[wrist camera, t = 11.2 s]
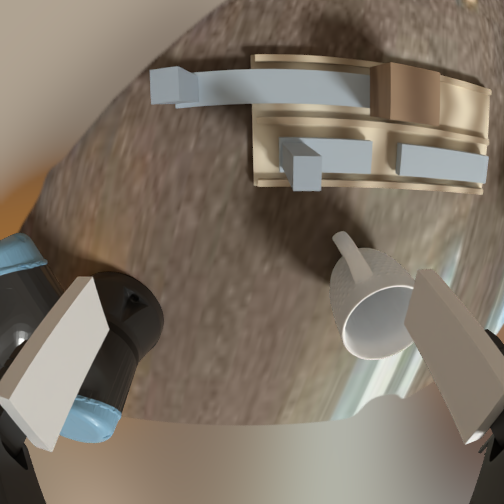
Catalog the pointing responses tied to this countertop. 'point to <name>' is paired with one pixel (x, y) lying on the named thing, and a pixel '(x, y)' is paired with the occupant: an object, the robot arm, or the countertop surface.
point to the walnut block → (405, 93)
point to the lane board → (367, 128)
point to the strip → (258, 87)
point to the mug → (370, 300)
